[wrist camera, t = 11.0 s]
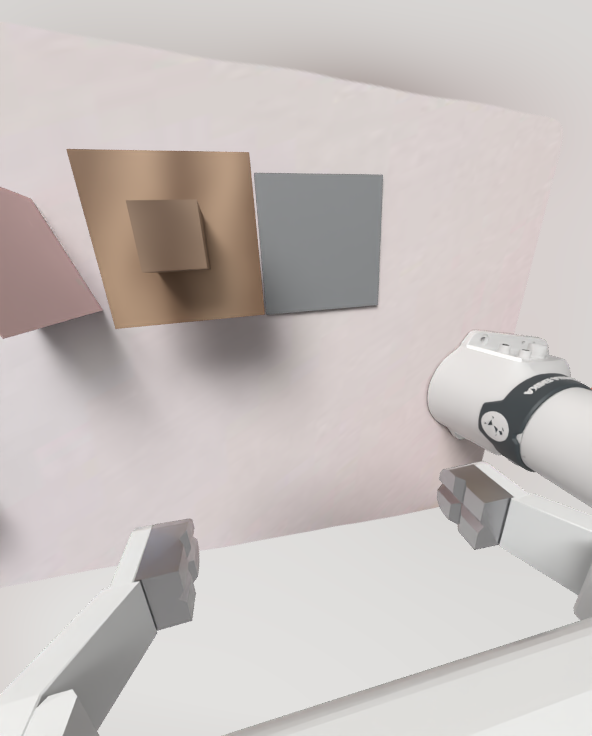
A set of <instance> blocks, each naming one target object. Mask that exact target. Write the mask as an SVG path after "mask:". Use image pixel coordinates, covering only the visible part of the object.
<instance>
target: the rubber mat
mask: <svg viewBox="0 0 592 736" xmlns="http://www.w3.org/2000/svg"><path fill="white" fill-rule="evenodd" d="M254 179H255V191H256V202H257V213H258V225H259V236H260V248H261V259H262V271H263V282H264V294H265V305H266V314H267V315H268V314H280V313H291V312H303V311H315V310H326V309H338V308H349V307H361V306H372V305H378V287H379V261H380V236H381V211H382V185H383V175H369V174H297V173H254Z"/></svg>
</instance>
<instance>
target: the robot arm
mask: <svg viewBox="0 0 592 736" xmlns="http://www.w3.org/2000/svg"><path fill="white" fill-rule="evenodd" d="M548 348H549V347H548V344H547V341H546V340H545V339H542V338H539V337H532V336H523V335H515V334H507V333H498V332H490V331H481V330H472V331H471V332H469V333H468V335H467V336H466V337H465V339H464V340H463V342H462V343H461V345H460V346H459V347H458V348H457V349H456V350H455V351H454V352H452V353H451V354H450V355H449V356H448V357H446V358H445V359H444V361H443V362H442V363H441V364H440V365H439V367H438V368H437V370H436V371H435V373H434V375H433V377H432V379H431V382H430V385H429V389H428V396H427V400H428V407H429V410H430V413H431V414H432V416H433V417H434V419H435V420H436V421H438V422H439V423H441V424H443V425H445V426H446V427H448V428H449V430H450V432H451V434H452V435H453V436H454V437H456V438H458V439H460V440H462V439H465V438H466V439H468V440H470V441H471V442H473V443H475V444H477V445H479V446H480V447H482V448H484V449H486V450H488V451H490V452H491V453H494V454H496V455H503V456H505V457H506V458H508V460H509V461H511V462H512V463H514V464H516V465H519V466H521V467H522V468H524V469H526V470H528V471H531V472H537V473H538V474H540V475H541V476H543V477H544V478H546V479H548V480H549V481H551V482H552V483H554V484H555V485H557V486H559V487H560V488H562V489H563V490H565V491H566V492H568V493H570V494H571V495H573V496H574V497H576V498H577V499H579V500H581V501H582V502H584V503H585V504H587V505H588V506H590V507H591V508H592V388H589V387H588V386H586V385H584V384H582V383H580V381H578V380H576V379H574V378H571V374H570V367H569V365H568V363H567V362H566V361H565V360H564V359H562V358H559V357H555V356H552V355H549V350H548ZM439 480H440V481H441V482H442V485H441V486H440V487H439V489H438V491H437V500H438V504H439V507H440V508H441V510H442V512H443V513H444V515H445V516H446V517H447V518H448V519H449V520H450V521H452V522H454V523H456V524H458V531H459V532H460V534H461V535H462V536H463V537H464V538H465V540H466V541H467V542H468V543H469V544H470V545H471V546H472V548H473V549H474V550H476V549H481V548H485V547H490V546H495V545H499V544H500V545H499V546H500V547H502V548H503V549H505V550H507V551H508V552H510V553H511V554H513V555H515V556H516V557H517V558H519V559H521V560H522V561H524V562H525V563H527V564H529V565H530V566H532V567H534V568H535V569H537V570H538V571H540V572H542V573H543V574H545V575H546V576H548V577H550V578H551V579H553V580H554V581H556V582H558V583H559V584H561V585H562V586H564V587H566V588H567V589H569V590H570V591H572V592H574V593H576V594H577V595H579V596H578V598H577V601H576V603H575V606H574V614H575V615H576V616H577V617H578V618H579V619H580V620H581V621H578V622H575V623H572V624H569V625H566V626H562V627H560V628H556V629H554V630H550V631H547V632H544V633H541V634H537V635H534V636H531V637H528V638H525V639H522V640H519V641H516V642H513V643H510V644H506V645H503V646H500V647H497V648H494V649H491V650H488V651H484V652H481V653H478V654H475V655H472V656H469V657H466V658H463V659H460V660H456V661H453V662H450V663H447V664H444V665H441V666H438V667H435V668H431V669H429V670H425V671H422V672H419V673H416V674H413V675H410V676H406V677H404V678H400V679H397V680H394V681H391V682H388V683H385V684H382V685H378V686H375V687H372V688H369V689H366V690H363V691H360V692H357V693H354V694H351V695H348V696H344V697H341V698H338V699H335V700H332V701H328V702H325V703H322V704H319V705H316V706H313V707H310V708H307V709H304V710H301V711H298V712H294V713H291V714H288V715H285V716H282V717H279V718H276V719H273V720H270V721H266V722H263V723H260V724H257V725H254V726H251V727H248V728H245V729H241V730H238V731H235V732H232V733H229V734H226V735H223V736H592V515H590V514H588V513H585V512H582V511H579V510H577V509H574V508H572V507H569V506H566V505H564V504H561V503H558V502H555V501H553V500H550V499H547V498H545V497H542V496H539V495H537V494H529V493H527V492H526V491H525V490H523V489H522V488H521V487H519V486H518V485H517V484H516V483H514V482H513V481H512V480H510V479H509V478H508V477H506V476H505V475H503V474H502V473H501V472H500V471H498V470H497V469H496V468H494V467H493V466H492V465H490V464H489V463H487V462H484V461H481V462H476V463H471V464H466V465H461V466H457V467H452V468H447V469H443V470H442V471H441V472H440V477H439ZM193 534H194V524H193V521H192V519H184V520H178V521H172V522H166V523H160V524H155V525H150V526H144V527H138V528H135V529H134V531H133V532H132V533H131V535H130V538H129V540H128V543H127V545H126V548H125V550H124V552H123V555H122V557H121V560H120V562H119V565H118V567H117V570H116V572H115V574H114V577H113V579H112V582H111V584H110V587H109V588H106V589H102V591H100V592H99V594H98V595H97V596H96V597H95V598H94V599H93V600H92V601H91V602H90V603H89V604H88V605H87V606H86V607H85V608H84V609H83V610H82V611H81V612H80V613H79V614H78V615H77V616H76V617H75V618H74V619H73V620H72V621H71V622H70V623H69V624H68V625H67V626H66V628H64V629H63V630H62V631H61V632H60V633H59V635H57V636H56V638H55V639H54V640H53V641H52V642H51V643H50V644H49V645H48V646H47V647H46V648H45V649H44V650H43V651H42V652H41V653H40V654H39V655H38V656H37V657H36V658H35V659H34V660H33V661H32V662H31V663H30V664H29V665H28V666H27V667H26V668H25V669H24V670H23V671H22V672H21V673H20V674H19V675H18V676H17V677H16V678H15V679H14V680H13V681H12V682H11V684H10V685H9V686H8V687H7V688H6V689H5V690H4V691H3V692H2V693H1V694H0V736H99V734H98V732H97V730H98V728H99V727H100V725H101V724H102V722H103V720H104V719H105V717H106V716H107V714H108V712H109V711H110V709H111V707H112V706H113V704H114V703H115V701H116V699H117V698H118V696H119V694H120V693H121V691H122V690H123V688H124V686H125V685H126V683H127V681H128V680H129V678H130V676H131V675H132V673H133V672H134V670H135V668H136V667H137V665H138V664H139V662H140V660H141V659H142V657H143V655H144V654H145V652H146V650H147V649H148V647H149V646H150V644H151V642H152V641H153V639H154V638H155V636H156V634H157V630H161V629H164V628H168V627H172V626H175V625H179V624H182V623H186V622H189V621H192V617H193V609H194V602H195V595H196V592H195V588H194V584H193V582H194V581H195V580H196V578H197V577H198V571H199V546H198V541H197V539H196V538H194V537H193Z"/></svg>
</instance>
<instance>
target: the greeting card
mask: <svg viewBox="0 0 592 736" xmlns="http://www.w3.org/2000/svg"><path fill="white" fill-rule="evenodd" d="M99 311H102V308H101V307H100V305H99V304H98V302H97V300H96V299H95V297H94V296H93V294H92V293H91V291H90V290H89V288H88V287H87V285H86V283H85V282H84V280H83V279H82V277H81V276H80V274H79V273H78V271H77V269H76V268H75V266H74V265H73V263H72V262H71V260H70V259H69V257H68V255H67V254H66V252H65V251H64V249H63V248H62V246H61V245H60V243H59V242H58V240H57V238H56V237H55V235H54V234H53V232H52V231H51V229H50V228H49V226H48V224H47V223H46V221H45V220H44V218H43V217H42V215H41V214H40V212H39V210H38V209H37V207H36V206H35V204H34V203H33V201H32V200H31V199H30V198H28V197H25V196H23V195H20V194H18V193H15V192H12V191H10V190H7V189H5V188H2V187H0V336H1V337H2V338H3V339H4V338H8V337H11V336H15V335H18V334H22V333H25V332H29V331H32V330H36V329H39V328H43V327H46V326H50V325H53V324H57V323H60V322H64V321H67V320H71V319H74V318H78V317H81V316H85V315H88V314H92V313H95V312H99Z"/></svg>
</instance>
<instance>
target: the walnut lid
mask: <svg viewBox="0 0 592 736" xmlns="http://www.w3.org/2000/svg"><path fill="white" fill-rule="evenodd" d="M67 153H68V157H69V160H70V164H71V168H72V171H73V175H74V179H75V182H76V186H77V190H78V193H79V197H80V201H81V204H82V208H83V212H84V215H85V219H86V222H87V226H88V230H89V233H90V237H91V241H92V244H93V248H94V252H95V255H96V259H97V263H98V266H99V270H100V274H101V277H102V281H103V285H104V288H105V292H106V296H107V299H108V303H109V307H110V310H111V314H112V318H113V321H114V325H115V329H119V328H130V327H140V326H151V325H161V324H172V323H182V322H193V321H203V320H213V319H224V318H234V317H245V316H255V315H265V311H264V300H263V290H262V280H261V270H260V259H259V249H258V239H257V229H256V219H255V208H254V198H253V188H252V178H251V167H250V157H249V152H203V151H147V150H90V149H67Z"/></svg>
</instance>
